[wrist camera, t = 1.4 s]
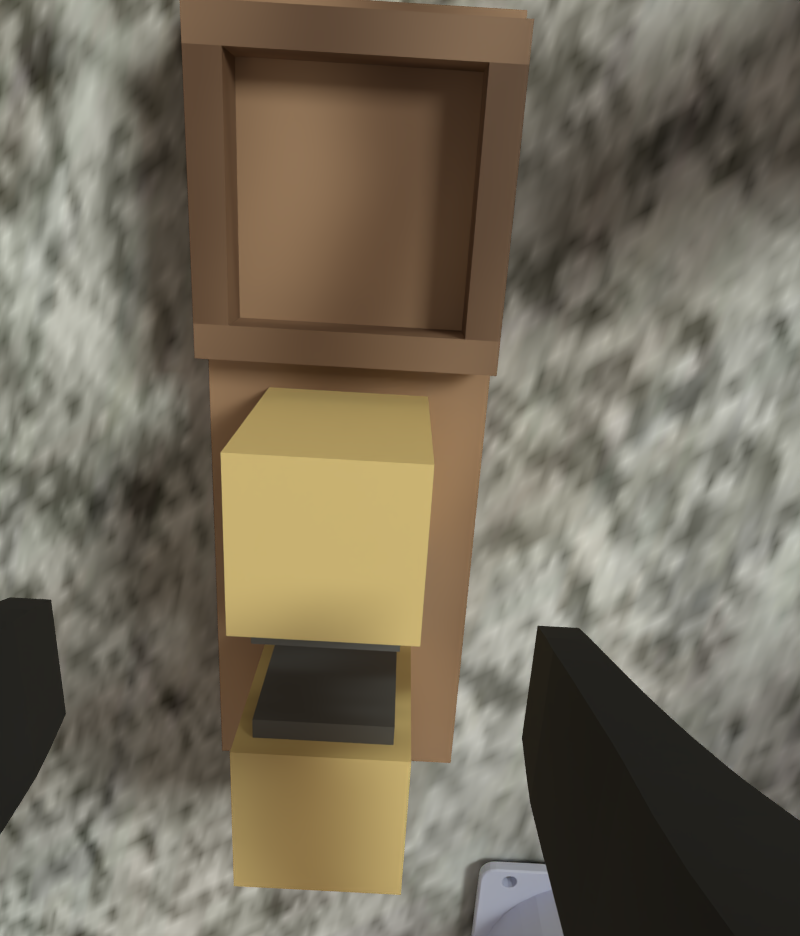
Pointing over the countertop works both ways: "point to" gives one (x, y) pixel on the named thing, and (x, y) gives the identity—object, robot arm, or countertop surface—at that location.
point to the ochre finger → (328, 520)
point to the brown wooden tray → (349, 362)
